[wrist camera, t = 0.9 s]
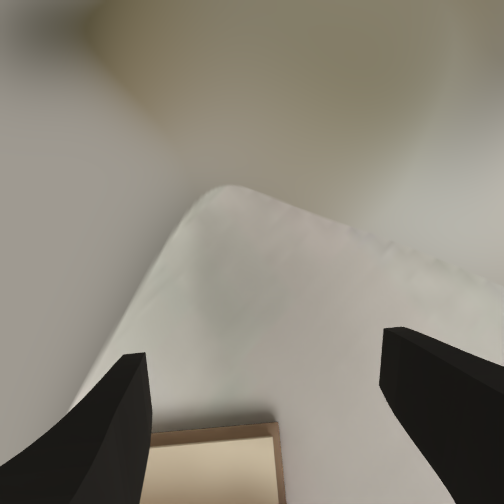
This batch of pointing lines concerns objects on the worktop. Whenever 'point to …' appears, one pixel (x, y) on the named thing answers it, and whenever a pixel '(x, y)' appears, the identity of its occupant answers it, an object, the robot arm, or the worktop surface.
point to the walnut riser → (228, 434)
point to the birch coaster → (212, 473)
